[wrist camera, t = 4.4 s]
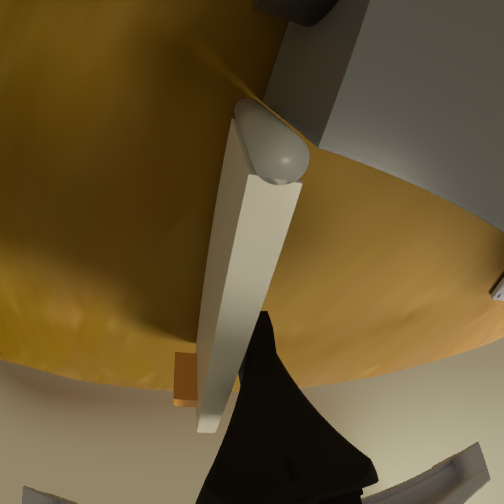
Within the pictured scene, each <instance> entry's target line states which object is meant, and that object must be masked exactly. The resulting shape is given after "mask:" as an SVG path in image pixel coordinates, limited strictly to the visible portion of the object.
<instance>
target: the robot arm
mask: <svg viewBox="0 0 504 504" xmlns="http://www.w3.org/2000/svg"><path fill="white" fill-rule="evenodd" d="M491 298H492V299H493V300H504V277H503V278H502V280H501V281H500V283H499V284H498V285H497V287H496V288H495V289H494V291H493V292H492V294H491ZM238 374H239V379H240V385H241V387H240V391H239V395H238V398H237V401H236V405H235V408H234V411H233V414H232V417H231V420H230V423H229V426H228V429H227V431H226V434H225V437H224V439H223V442H222V444H221V446H220V449H219V451H218V454H217V456H216V458H215V461H214V463H213V465H212V467H211V469H210V471H209V473H208V475H207V477H206V479H205V482H204V484H203V486H202V489H201V491H200V493H199V496H198V498H197V501H196V504H464V503H465V502H466V501H467V500H468V499H469V498H470V497H472V496H473V495H474V494H475V493H476V492H477V491H478V490H479V489H481V488H482V487H483V486H484V485H485V484H487V483H488V482H489V481H490V476H489V473H488V469H487V466H486V463H485V460H484V457H483V454H482V451H481V448H480V445H479V442H476V443H475V444H473V445H471V446H469V447H468V448H466V449H465V450H463V451H461V452H459V453H457V454H454V455H453V456H451V457H449V458H447V459H445V460H443V461H442V462H440V463H438V464H436V465H434V466H433V467H432V468H431V469H429V470H427V471H426V472H423V473H421V474H420V475H417V476H416V477H414V478H411V479H409V480H407V481H405V482H403V483H400V484H398V485H396V486H393V487H391V488H389V489H386V490H384V491H381V492H379V493H376V494H373V495H370V496H368V497H365V498H362V499H361V497H360V495H362V494H363V490H362V488H364V487H367V486H370V485H373V484H375V483H377V482H378V476H377V473H376V470H375V468H374V465H373V463H372V461H371V459H370V458H368V457H367V456H366V455H364V454H363V453H362V452H361V451H359V450H358V449H357V448H356V447H354V446H353V445H352V444H351V443H349V442H348V441H347V440H346V439H345V438H344V437H343V436H342V435H340V434H339V433H338V432H337V431H336V430H335V429H334V428H333V427H332V426H331V425H330V424H329V423H328V422H327V421H326V420H325V419H324V418H323V417H322V416H321V415H320V414H319V412H318V411H317V410H316V409H315V408H314V407H313V405H312V404H311V403H310V402H309V401H308V400H307V398H306V397H305V395H304V394H303V393H302V392H301V390H300V389H299V388H298V386H297V385H296V383H295V382H294V380H293V379H292V378H291V376H290V375H289V373H288V372H287V370H286V368H285V367H284V365H283V364H282V362H281V360H280V358H279V357H278V355H277V353H276V347H275V340H274V332H273V327H272V324H271V320H270V317H269V314H268V311H260V314H259V316H258V319H257V322H256V325H255V328H254V330H253V333H252V336H251V339H250V342H249V344H248V347H247V350H246V353H245V355H244V358H243V361H242V364H241V366H240V369H239V372H238ZM22 504H77V503H76V502H73V501H70V500H67V499H64V498H61V497H59V496H56V495H53V494H49V493H44V492H41V491H38V490H35V489H33V488H30V487H26V486H23V494H22Z"/></svg>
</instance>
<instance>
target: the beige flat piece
mask: <svg viewBox="0 0 504 504" xmlns="http://www.w3.org/2000/svg"><path fill="white" fill-rule="evenodd" d="M234 116H235V118H236V119H234V118H232V120H231V124H230V129H229V134H228V139H227V145H226V150H225V155H224V160H223V166H222V171H221V177H220V182H219V188H218V194H217V199H216V205H215V211H214V218H213V224H212V230H211V236H210V243H209V250H208V256H207V263H206V270H205V277H204V285H203V292H202V300H201V308H200V316H199V324H198V333H197V342H196V351H195V354H194V353H181V352H175V369H174V406H183V407H196V420H197V432H201V433H215V432H216V429H217V427H218V424H219V422H220V419H221V416H222V414H223V411H224V409H225V406H226V404H227V401H228V398H229V396H230V393H231V390H232V388H233V385H234V382H235V380H236V377H237V374H238V372H239V369H240V366H241V364H242V361H243V358H244V355H245V353H246V350H247V347H248V344H249V342H250V339H251V336H252V333H253V330H254V328H255V325H256V322H257V319H258V316H259V314H260V311H261V308H262V305H263V302H264V299H265V296H266V293H267V291H268V288H269V285H270V282H271V279H272V276H273V273H274V270H275V267H276V264H277V261H278V258H279V255H280V252H281V249H282V246H283V243H284V240H285V237H286V234H287V231H288V228H289V225H290V222H291V219H292V216H293V213H294V210H295V206H296V203H297V200H298V197H299V194H300V191H301V188H302V184H303V183H302V182H301V180H300V179H299V178H300V177H301V176H302V175H303V174H304V173H305V171H306V170H307V168H308V165H309V160H310V154H309V149H308V147H307V145H306V143H305V142H304V141H303V140H302V139H301V138H300V137H299V136H298V135H297V134H296V133H295V132H294V131H293V130H291V129H290V128H289V127H288V126H287V125H286V124H285V123H283V122H282V121H281V120H280V119H279V118H278V117H276V116H275V115H274V114H273V113H272V112H270V111H269V110H268V109H267V108H266V107H264V106H263V105H262V104H261V103H259V102H258V101H257V100H256V99H254V98H249V97H247V98H242V99H240V100H239V101H238V102H237V103H236V104H235V106H234Z"/></svg>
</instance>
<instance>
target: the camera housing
mask: <svg viewBox="0 0 504 504" xmlns="http://www.w3.org/2000/svg"><path fill="white" fill-rule="evenodd" d="M253 11H257V12H261V13H264V14H268V15H271V16H275V17H278V18H281V19H285V20H288V21H289V23H288V26H287V28H286V31H285V34H284V37H283V40H282V43H281V46H280V49H279V52H278V55H277V58H276V61H275V64H274V67H273V70H272V73H271V76H270V80H269V83H268V86H267V89H266V92H265V95H264V98H263V103H264V104H265V105H267V106H268V107H269V108H271V109H272V110H273V111H275V112H276V113H277V114H278V115H280V116H281V117H282V118H283V119H285V120H286V121H287V122H288V123H290V124H291V125H292V126H293V127H294V128H296V129H297V130H298V131H299V132H300V133H302V134H303V135H304V136H305V137H306V138H307V139H309V140H310V141H311V142H312V143H313V144H314V145H316V146H317V147H318V148H320V149H324V150H327V151H330V152H333V153H335V154H338V155H341V156H344V157H347V158H350V159H352V160H355V161H358V162H361V163H363V164H366V165H368V166H371V167H374V168H376V169H379V170H381V171H384V172H386V173H389V174H391V175H393V176H396V177H398V178H400V179H403V180H405V181H407V182H409V183H412V184H414V185H416V186H418V187H420V188H423V189H425V190H427V191H429V192H431V193H433V194H435V195H437V196H439V197H441V198H443V199H445V200H447V201H449V202H451V203H453V204H455V205H457V206H459V207H461V208H463V209H464V210H466V211H468V212H470V213H472V214H473V215H475V216H477V217H479V218H480V219H482V220H484V221H486V222H487V223H489V224H491V225H492V226H494V227H496V228H497V229H499V230H501V231H502V232H504V0H254V4H253Z"/></svg>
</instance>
